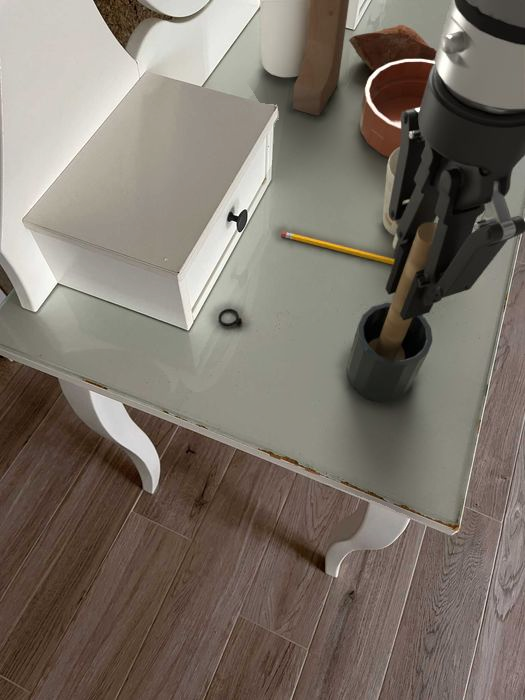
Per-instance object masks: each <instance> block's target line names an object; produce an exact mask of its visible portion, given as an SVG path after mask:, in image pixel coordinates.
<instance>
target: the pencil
mask: <svg viewBox="0 0 525 700" xmlns="http://www.w3.org/2000/svg"><path fill="white" fill-rule="evenodd" d="M280 237H282V238H284V239H285V238H286V239H289V240H294V241H297V242H302V243H306V244H308V245H314V246H316V247H317V246H318V247H322V248H324V249H325V248H326V249H329V250H334V251H337V252H341V253H345V254H349V255H353V256H357V257H361V258H364V259H369V260H373V261H377V262H381V263H384V264H390V265H392V266H393V263H394V260H395V258H391V257H387V256H383V255H379V254H377V253H371V252H368V251H363V250H360V249H355V248H351V247H347V246H343V245H338V244H335V243H332V242H327V241H323V240H319V239H315V238H312V237H306V236H303V235H301V234H300V235H299V234H296V233H293V232H292V233H291V232H287V231H281V234H280Z"/></svg>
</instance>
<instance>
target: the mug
mask: <svg viewBox="0 0 525 700" xmlns="http://www.w3.org/2000/svg"><path fill="white" fill-rule="evenodd" d="M399 150H400V147H399V148H397V149H396V150H395V151H394V152H393V153H392V154H391V156H390V158H389V157H388V161H387V165H386V175H385V185H384V186H385V187H384V200H383V210H382V211H383V212H382V224H383V226H384V228H385V230H386V231H387V232H388V233H389V234H391V235H392V236H394V238H393V241H392V248H393V250H395V247H396V244H397V241H398V237H397V233H396V230H397V227H398V223H397V220H395V221H392V220H391V219H390V217H389V205H390V199H391V194H392V188H393V183H394V177H395V172H396V166H397V161H398V155H399ZM407 202H409V200H405V201H403V204H404V203H407Z"/></svg>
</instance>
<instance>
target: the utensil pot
mask: <svg viewBox="0 0 525 700" xmlns="http://www.w3.org/2000/svg"><path fill="white" fill-rule="evenodd" d="M391 303H392V301H391V302H390V301H389V302H388V301H387V302H382V303H379V304H376V305H372V306H371V307H370V308H369V309H368V310H366V311H365V312H364V313H362V315H361V317H360V320H359V322H358V324H357V327H356V331H355V335H354V338H353V342H352V345H351V349H350V351H349V352H350V353H349V355H348V360H347V364H346V365H347V366H346V376H347V379H348V381H349V384H350V385H351V387H352V388H353V390H354V391H356V393H358V394H359V395H360V396H361V397H363V398H365V399H367V400H369V401H372V402H375V403H389V402H393V401H394V402H395V401H396V400H398V399H401V398H402V397H403V396H404V395H405V394H407V392H408V391H409V390H410V388H411V387H412V385H413V383H414V381H415V379H416V377H417V376H418V373H419V371H420V369H421V367H422V366H423V363H424V361H425V359H426V357H427V355H428V353H429V351H430V349H431V346H432V343H433V333H432V327H431V325H430V324H429V322H428V321H427V319H426V317H425V316H424V314H423V315H420V316H417V317H413V319H412V321H411V323H410V326H409V328H408V330H407V333H406V335H405V337H404V340H403V342H402V344H401V346H402V348H403V350H404V352H405V360H390V359H387V358H384V357H382V356H379V355H378V354H377V353H376V352H374V351H373V350H372V349H371V348H370V347H369V345H368V343H369V342H370V341H372V340H374V339H376V338H379V337H380V334H381V331H382V329H383V326H384V323H385V320H386V317H387V315H388V312H389V309H390V306H391Z"/></svg>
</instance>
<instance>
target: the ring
mask: <svg viewBox="0 0 525 700" xmlns="http://www.w3.org/2000/svg"><path fill="white" fill-rule="evenodd" d="M228 312H231V313H234V314H235V316H236V317H235V320H234V321H232V322H224V321H223V320H222V318H221V317H222V315H223V314H224V313H228ZM218 321H219V324H220V325H222V326H224V327H232V326H234V325H237V327H240V326H241V325H242V323H243V320H242V318H241V317H240V316H239V313H238V311H237V310H236V309H234V308H226V309H223V310H221V312H219V314H218Z"/></svg>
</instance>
